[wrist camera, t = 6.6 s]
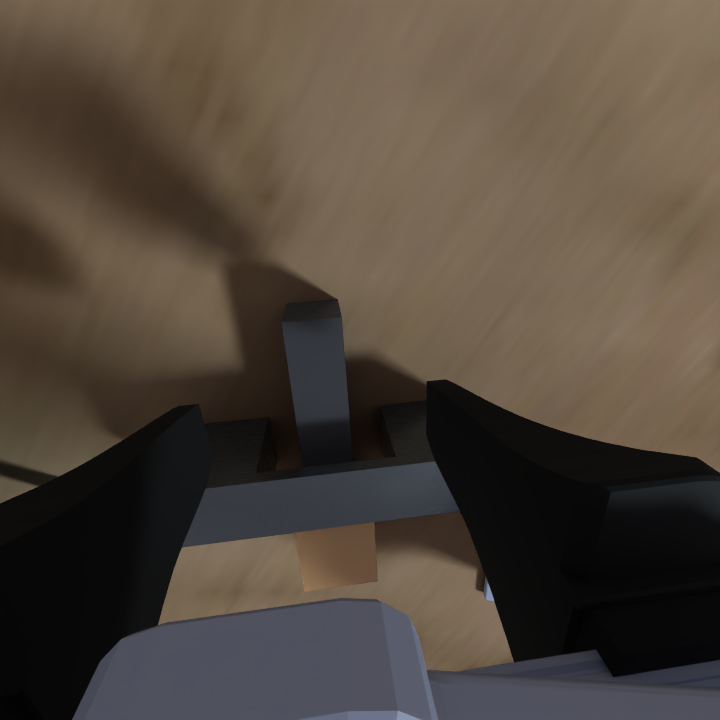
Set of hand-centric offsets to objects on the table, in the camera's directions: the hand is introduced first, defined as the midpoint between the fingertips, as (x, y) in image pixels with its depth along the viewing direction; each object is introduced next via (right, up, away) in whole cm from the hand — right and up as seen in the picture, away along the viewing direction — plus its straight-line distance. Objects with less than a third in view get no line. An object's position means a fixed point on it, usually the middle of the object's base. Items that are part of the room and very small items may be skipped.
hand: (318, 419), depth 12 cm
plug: (-1, -2, +9) cm, 9 cm away
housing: (-1, -2, +9) cm, 9 cm away
